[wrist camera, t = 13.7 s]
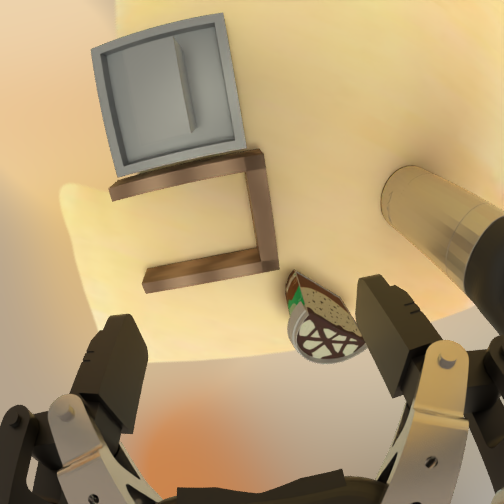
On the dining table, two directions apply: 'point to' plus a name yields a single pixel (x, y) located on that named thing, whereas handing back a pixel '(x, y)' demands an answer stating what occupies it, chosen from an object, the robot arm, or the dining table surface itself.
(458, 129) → the dining table surface
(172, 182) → the walnut bay
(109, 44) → the charcoal tray
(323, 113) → the dining table surface
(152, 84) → the grey rectangular prism
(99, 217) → the dining table surface
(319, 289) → the food container
